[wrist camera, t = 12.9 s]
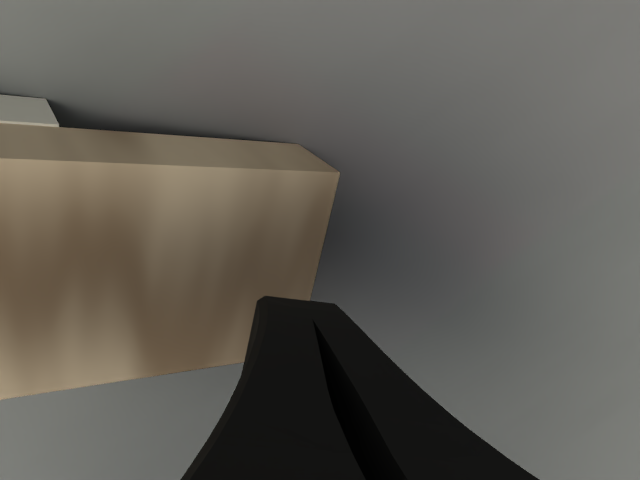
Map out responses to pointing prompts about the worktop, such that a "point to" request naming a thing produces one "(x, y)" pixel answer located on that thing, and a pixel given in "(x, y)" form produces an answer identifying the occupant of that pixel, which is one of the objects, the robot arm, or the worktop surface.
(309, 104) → the worktop surface
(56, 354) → the domino
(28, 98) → the domino
